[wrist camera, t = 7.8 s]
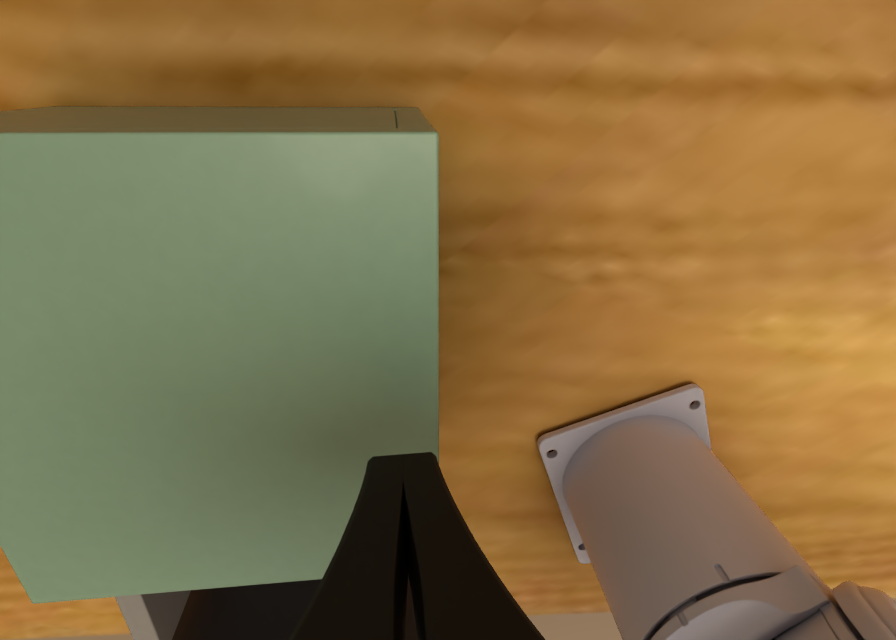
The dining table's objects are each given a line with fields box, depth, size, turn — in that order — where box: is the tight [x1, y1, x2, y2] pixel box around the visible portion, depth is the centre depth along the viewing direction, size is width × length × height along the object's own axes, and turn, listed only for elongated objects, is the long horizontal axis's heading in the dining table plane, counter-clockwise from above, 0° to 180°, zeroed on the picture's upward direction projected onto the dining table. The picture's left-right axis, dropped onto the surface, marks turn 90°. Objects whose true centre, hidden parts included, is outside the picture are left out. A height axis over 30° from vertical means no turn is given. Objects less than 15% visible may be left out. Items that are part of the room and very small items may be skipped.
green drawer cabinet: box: [0, 106, 439, 604], centre depth 16 cm, size 13×12×8 cm
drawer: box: [115, 574, 418, 640], centre depth 20 cm, size 16×10×6 cm, turn 0°
